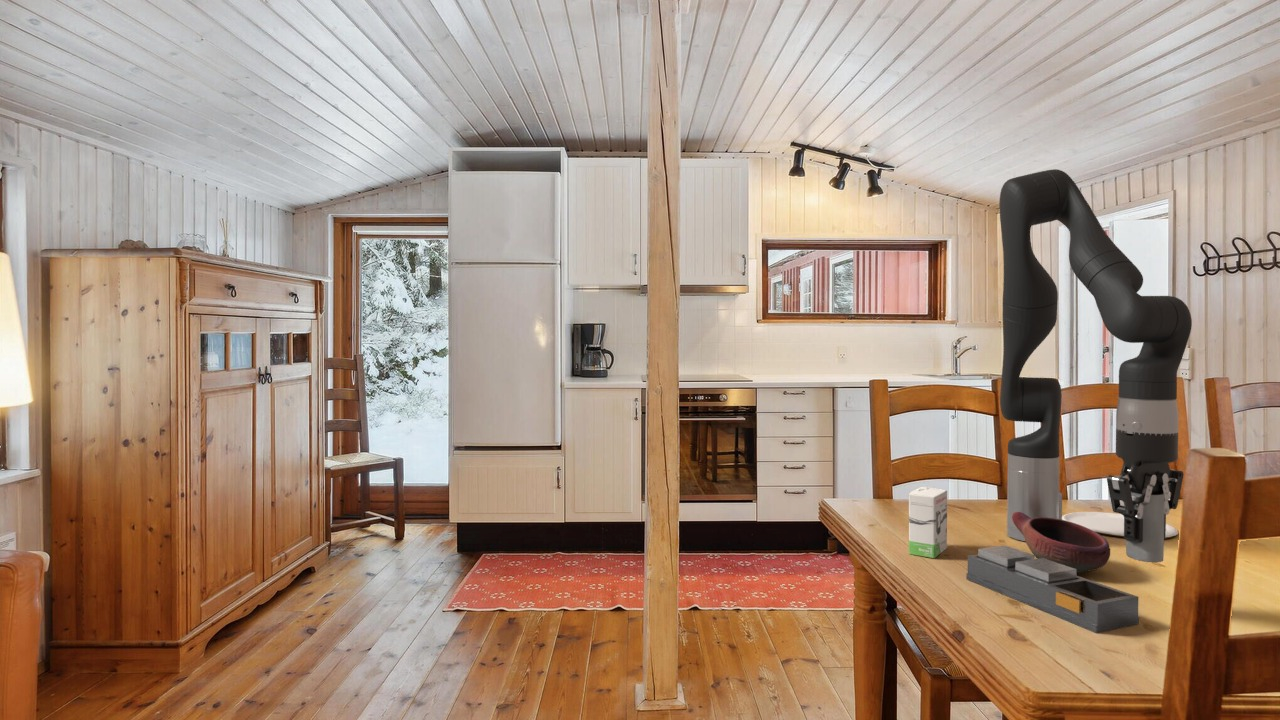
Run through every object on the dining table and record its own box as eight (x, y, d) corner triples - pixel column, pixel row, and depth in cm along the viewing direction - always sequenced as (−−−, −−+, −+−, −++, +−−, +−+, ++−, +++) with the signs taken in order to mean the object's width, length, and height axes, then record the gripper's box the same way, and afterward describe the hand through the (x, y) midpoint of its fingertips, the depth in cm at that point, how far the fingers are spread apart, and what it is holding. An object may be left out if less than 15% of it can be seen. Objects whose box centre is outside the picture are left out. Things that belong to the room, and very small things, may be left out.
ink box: (934, 559, 124) (935, 496, 124) (907, 554, 128) (907, 493, 127) (947, 548, 131) (948, 489, 131) (921, 544, 134) (922, 485, 134)
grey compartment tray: (964, 579, 114) (965, 547, 114) (1004, 573, 117) (1005, 542, 116) (1094, 633, 92) (1094, 594, 92) (1139, 624, 95) (1139, 586, 95)
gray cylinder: (1118, 553, 104) (1119, 488, 103) (1145, 552, 104) (1146, 486, 104) (1143, 563, 99) (1144, 495, 99) (1171, 562, 100) (1172, 493, 99)
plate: (1193, 532, 144) (1193, 526, 144) (1156, 548, 132) (1156, 542, 132) (1085, 512, 161) (1085, 507, 161) (1044, 525, 149) (1044, 520, 149)
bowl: (1114, 567, 120) (1114, 523, 120) (1105, 587, 110) (1106, 538, 110) (1013, 549, 130) (1014, 509, 130) (997, 566, 120) (998, 522, 120)
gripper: (1151, 422, 107) (1150, 527, 107) (1088, 427, 102) (1087, 538, 103) (1205, 428, 100) (1203, 541, 100) (1140, 434, 95) (1138, 553, 96)
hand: (1144, 539), depth 102 cm, fingers closed on gray cylinder, 4 cm apart
